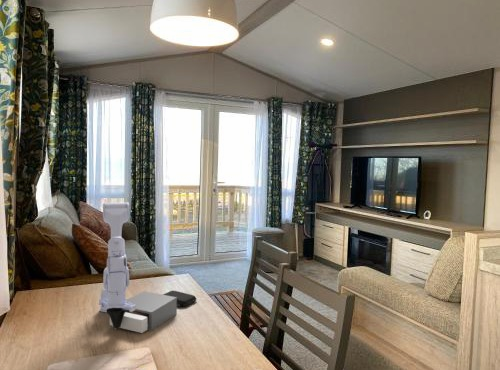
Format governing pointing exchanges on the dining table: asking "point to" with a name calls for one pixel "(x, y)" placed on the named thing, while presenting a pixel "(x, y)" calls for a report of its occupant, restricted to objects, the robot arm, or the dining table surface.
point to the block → (139, 313)
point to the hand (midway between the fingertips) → (117, 327)
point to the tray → (134, 322)
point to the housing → (155, 307)
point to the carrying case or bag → (182, 298)
